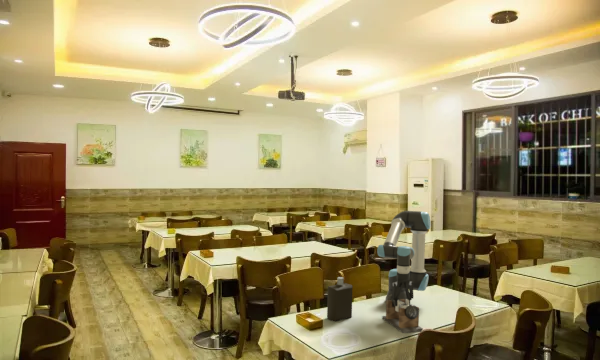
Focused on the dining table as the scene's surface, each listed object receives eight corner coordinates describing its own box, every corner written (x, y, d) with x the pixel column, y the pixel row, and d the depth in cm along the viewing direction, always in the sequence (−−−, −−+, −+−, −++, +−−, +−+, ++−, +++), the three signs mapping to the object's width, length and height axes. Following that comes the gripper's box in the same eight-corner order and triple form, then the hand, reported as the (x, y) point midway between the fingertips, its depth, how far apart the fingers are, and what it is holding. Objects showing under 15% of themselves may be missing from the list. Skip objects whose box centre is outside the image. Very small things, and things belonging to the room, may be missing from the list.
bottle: (353, 317, 264) (354, 277, 263) (333, 322, 254) (335, 281, 254) (344, 313, 270) (345, 274, 270) (325, 318, 261) (326, 278, 260)
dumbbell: (406, 320, 241) (406, 306, 240) (386, 307, 263) (386, 294, 262) (418, 318, 243) (418, 305, 243) (397, 306, 265) (398, 293, 265)
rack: (402, 333, 239) (403, 311, 239) (382, 318, 262) (382, 298, 262) (422, 330, 243) (423, 309, 243) (400, 316, 266) (401, 297, 266)
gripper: (392, 274, 246) (391, 314, 246) (420, 273, 251) (419, 311, 252) (385, 271, 253) (384, 309, 253) (413, 270, 259) (412, 307, 259)
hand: (402, 310), depth 253 cm, fingers open, 6 cm apart
